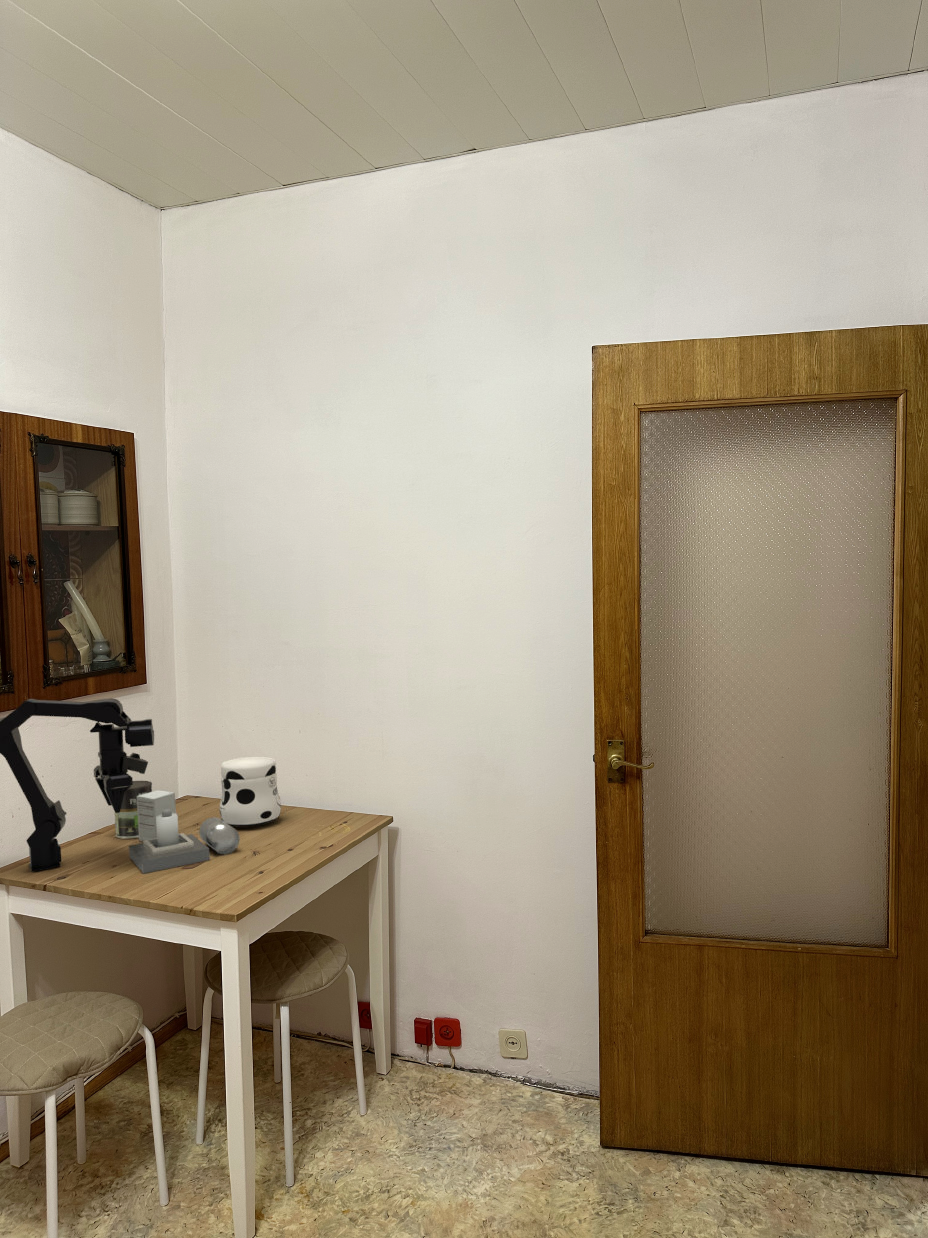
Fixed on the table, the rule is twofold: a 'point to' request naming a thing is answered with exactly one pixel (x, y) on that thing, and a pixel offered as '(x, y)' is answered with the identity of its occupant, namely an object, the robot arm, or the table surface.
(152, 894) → the table surface
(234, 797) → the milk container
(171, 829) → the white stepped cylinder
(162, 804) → the supplement box
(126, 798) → the coffee can
